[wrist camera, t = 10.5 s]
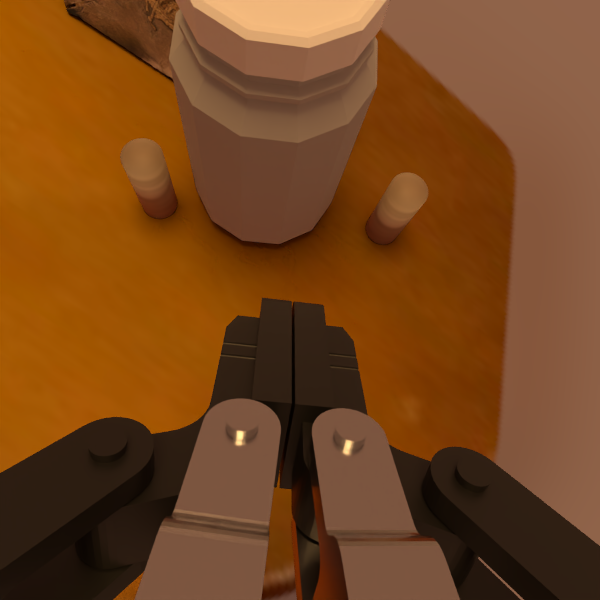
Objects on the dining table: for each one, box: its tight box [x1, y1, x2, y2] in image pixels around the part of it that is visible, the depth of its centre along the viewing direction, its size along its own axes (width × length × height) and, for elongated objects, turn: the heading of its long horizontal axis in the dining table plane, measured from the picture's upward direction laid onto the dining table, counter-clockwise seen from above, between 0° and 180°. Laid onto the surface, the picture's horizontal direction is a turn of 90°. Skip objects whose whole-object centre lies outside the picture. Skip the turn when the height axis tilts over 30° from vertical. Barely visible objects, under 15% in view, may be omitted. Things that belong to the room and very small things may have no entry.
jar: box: [169, 0, 390, 244], centre depth 26 cm, size 10×10×18 cm
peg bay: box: [120, 138, 428, 245], centre depth 32 cm, size 12×18×6 cm, turn 86°
